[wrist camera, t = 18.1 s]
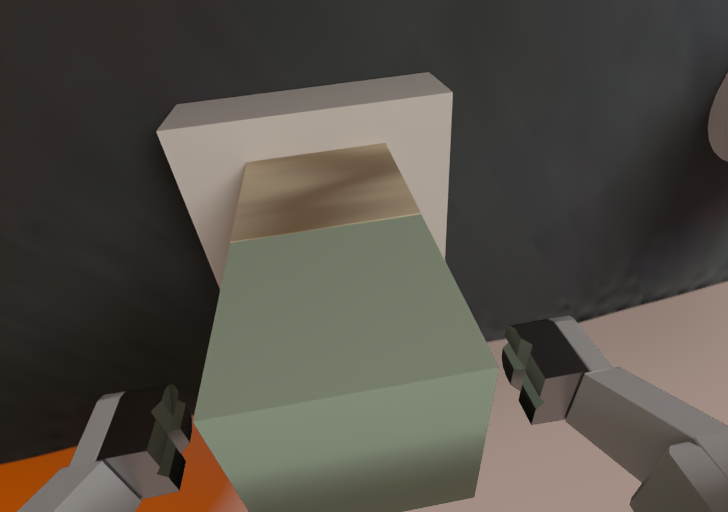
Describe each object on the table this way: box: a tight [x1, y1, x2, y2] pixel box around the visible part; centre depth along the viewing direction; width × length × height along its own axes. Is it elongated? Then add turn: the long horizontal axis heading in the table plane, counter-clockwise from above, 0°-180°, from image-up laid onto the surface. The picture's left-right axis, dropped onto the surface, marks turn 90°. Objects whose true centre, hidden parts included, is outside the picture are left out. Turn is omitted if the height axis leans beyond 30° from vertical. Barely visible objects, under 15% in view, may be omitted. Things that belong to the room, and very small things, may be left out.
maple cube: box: [230, 143, 421, 243], centre depth 14 cm, size 5×5×5 cm
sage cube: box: [193, 214, 499, 512], centre depth 10 cm, size 5×5×5 cm
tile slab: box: [156, 72, 453, 289], centre depth 17 cm, size 10×8×3 cm
